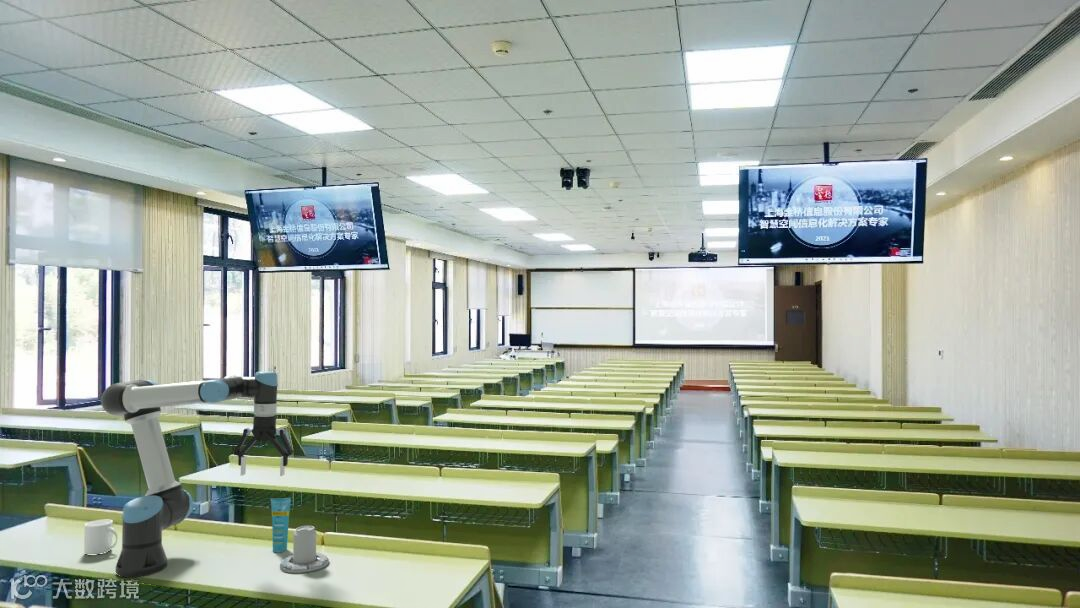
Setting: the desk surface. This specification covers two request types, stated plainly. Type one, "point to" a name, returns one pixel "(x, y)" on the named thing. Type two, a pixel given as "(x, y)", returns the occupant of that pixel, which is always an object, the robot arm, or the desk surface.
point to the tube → (280, 523)
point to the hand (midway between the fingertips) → (262, 475)
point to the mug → (99, 536)
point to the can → (304, 545)
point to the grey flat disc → (304, 565)
